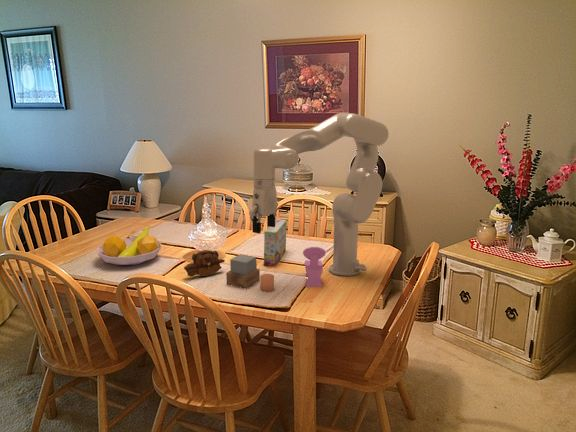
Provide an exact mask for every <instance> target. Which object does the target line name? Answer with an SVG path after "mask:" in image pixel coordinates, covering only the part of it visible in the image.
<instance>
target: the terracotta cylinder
mask: <svg viewBox="0 0 576 432" xmlns="http://www.w3.org/2000/svg"><path fill="white" fill-rule="evenodd" d="M259 282H260V285H259V287H260V288H259V289H260V291H261V290H262V291H261V292H264V291H265V292H266V293H269V291H271V292H273V291H275V276H274V274H271V273H270V274H269V273H263V274H261V275H260V281H259ZM272 290H273V291H272Z"/></svg>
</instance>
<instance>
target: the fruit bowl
mask: <svg viewBox="0 0 576 432" xmlns="http://www.w3.org/2000/svg"><path fill="white" fill-rule="evenodd" d="M149 229H150V225H147V226H146V227H145V229H144V230H143V231H141V232H140V234H139V235H138V236H137V237H131V238H130V237H129V238H127V237H126V238H123V239H122V238H121V237H120V236H118V235H116V234H113V235H110V236H108V237H107V239H105V241H104V243H103V244H102V245H100V246H97V247H96V254H97V256H99V257H100V258H101V260H103V261H104V262H105V263H109V264H112V265H117V266H122V265H123V266H125V265H127V266H129V265H130V266H131V265H132V266H133V265H136V266H137V265H140V264H143V263H145V262H147V261H150V260H151V259H155V258H156V256H157V254H159V252H160V250H161V249H162V243H161V241H160V240H158V238H157V237H155V236H154V235H149V233H150V232H149Z"/></svg>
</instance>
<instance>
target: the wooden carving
mask: <svg viewBox="0 0 576 432" xmlns="http://www.w3.org/2000/svg"><path fill="white" fill-rule="evenodd" d="M219 256H220V255H219V252H218V251H217V250H210V249H209V250H208V249H203V250H200V251H197V252H196V253H193V254H192V256H191V260H192V261H193V262H192V263H187V264H186V265H185V266H183V269H184V270H185V271H186V273H187V276H188V277H190V278H193V277H195V276H196V275H198V276H199V277H207V276H211V275H214V274H216V273H217V272H219V270H221V269H222V266H221V264H223V263H225V259H223V258H219Z"/></svg>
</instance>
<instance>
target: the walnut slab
mask: <svg viewBox="0 0 576 432" xmlns="http://www.w3.org/2000/svg"><path fill="white" fill-rule="evenodd" d="M260 270H261V269H260V268H257V270H255V271H253V272H252V273H250V274H248V275H247V276H246V275H241V274H237V273H232V272H231V269H230V270H228V271H227V272H226V273H225V275H226V276H225V277H226V280H225V281H226V285H227V286H231V285H232V287H235V288H240V287H241V289H244V288H246V289H245V290H247V288H248V289H249V288H251V287H252V286H254V285H256V284H257V283H258V281H259V282H260V276H261V275H260ZM256 282H257V283H256ZM255 283H256V284H255ZM253 284H254V285H253ZM250 286H251V287H250Z"/></svg>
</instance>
